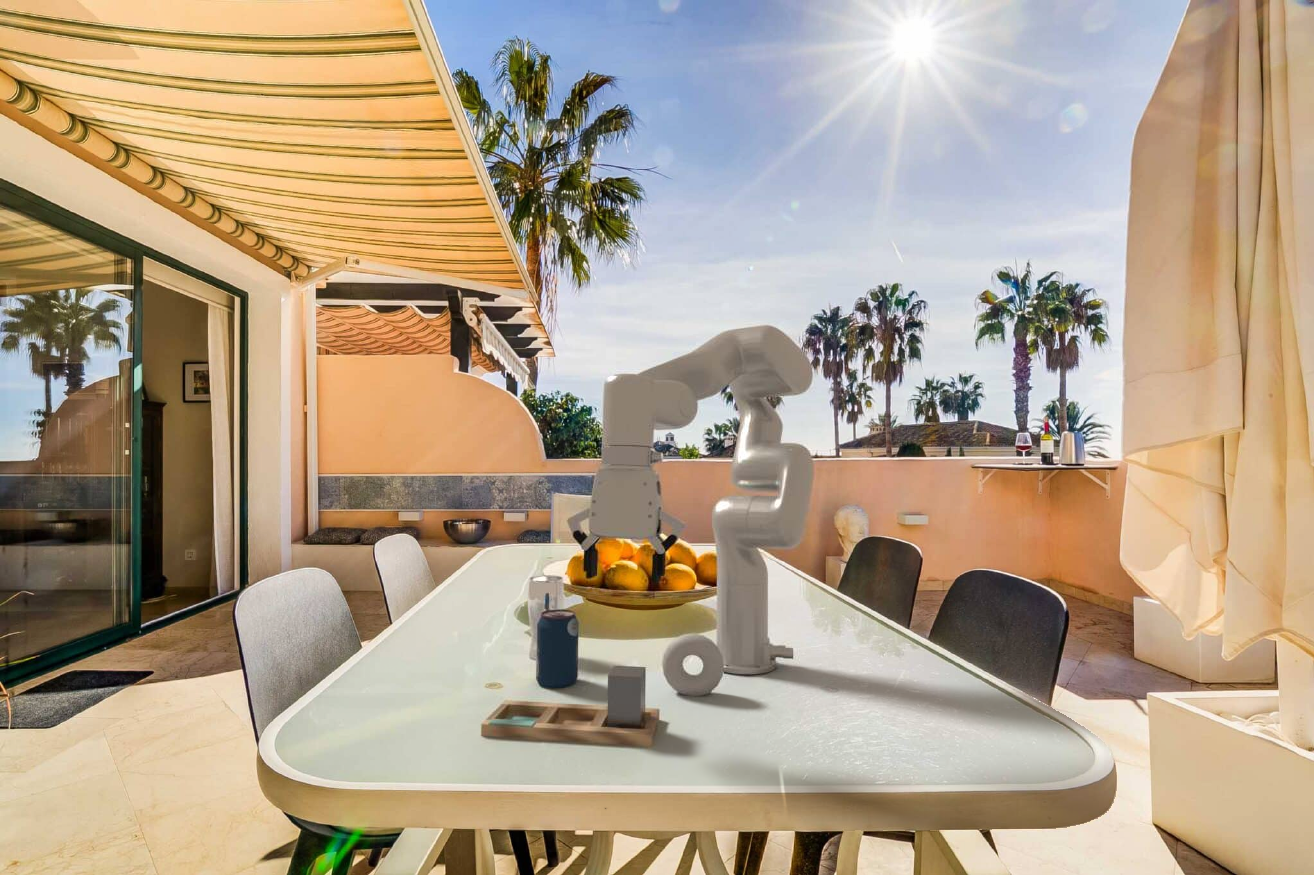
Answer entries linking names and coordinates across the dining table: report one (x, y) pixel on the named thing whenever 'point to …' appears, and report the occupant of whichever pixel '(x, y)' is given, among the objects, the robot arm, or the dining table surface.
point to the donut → (684, 680)
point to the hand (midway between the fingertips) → (623, 579)
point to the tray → (565, 724)
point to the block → (626, 697)
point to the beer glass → (543, 602)
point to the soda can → (557, 649)
